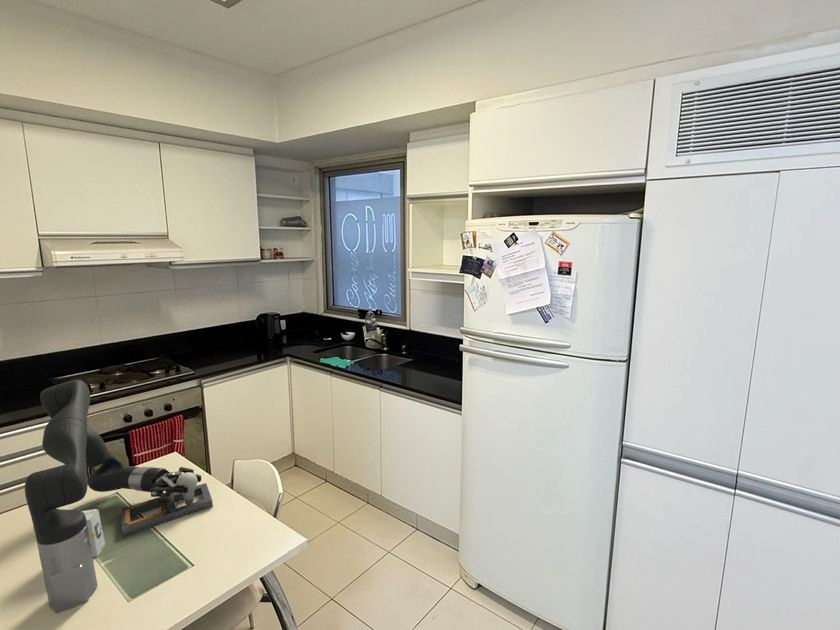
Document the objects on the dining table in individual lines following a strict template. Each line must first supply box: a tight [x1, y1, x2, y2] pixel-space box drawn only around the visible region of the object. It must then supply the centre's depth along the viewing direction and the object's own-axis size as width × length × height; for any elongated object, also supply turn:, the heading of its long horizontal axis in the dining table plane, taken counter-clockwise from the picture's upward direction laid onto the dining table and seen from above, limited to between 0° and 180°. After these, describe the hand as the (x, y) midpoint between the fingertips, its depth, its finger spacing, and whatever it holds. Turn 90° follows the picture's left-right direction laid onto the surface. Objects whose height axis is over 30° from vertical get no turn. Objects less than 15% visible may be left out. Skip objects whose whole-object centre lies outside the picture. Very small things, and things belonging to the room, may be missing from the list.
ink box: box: [81, 508, 106, 558], centre depth 117 cm, size 9×5×12 cm, turn 105°
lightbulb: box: [176, 472, 198, 505], centre depth 138 cm, size 6×6×11 cm
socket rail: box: [121, 482, 214, 538], centre depth 136 cm, size 12×24×3 cm, turn 125°
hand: (193, 483), depth 137 cm, fingers closed on lightbulb, 5 cm apart
